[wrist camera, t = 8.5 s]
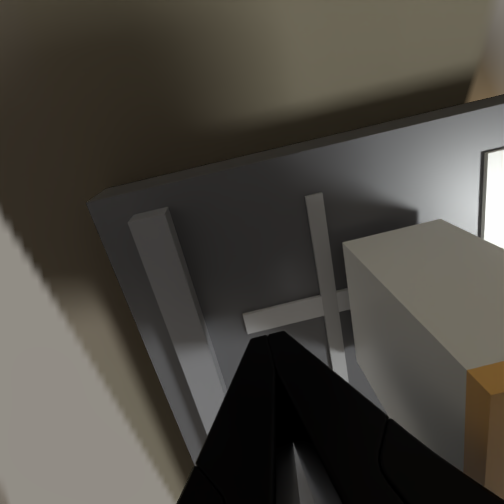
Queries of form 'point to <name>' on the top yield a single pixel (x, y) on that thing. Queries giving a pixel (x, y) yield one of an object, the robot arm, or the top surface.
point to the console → (286, 244)
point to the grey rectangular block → (434, 339)
